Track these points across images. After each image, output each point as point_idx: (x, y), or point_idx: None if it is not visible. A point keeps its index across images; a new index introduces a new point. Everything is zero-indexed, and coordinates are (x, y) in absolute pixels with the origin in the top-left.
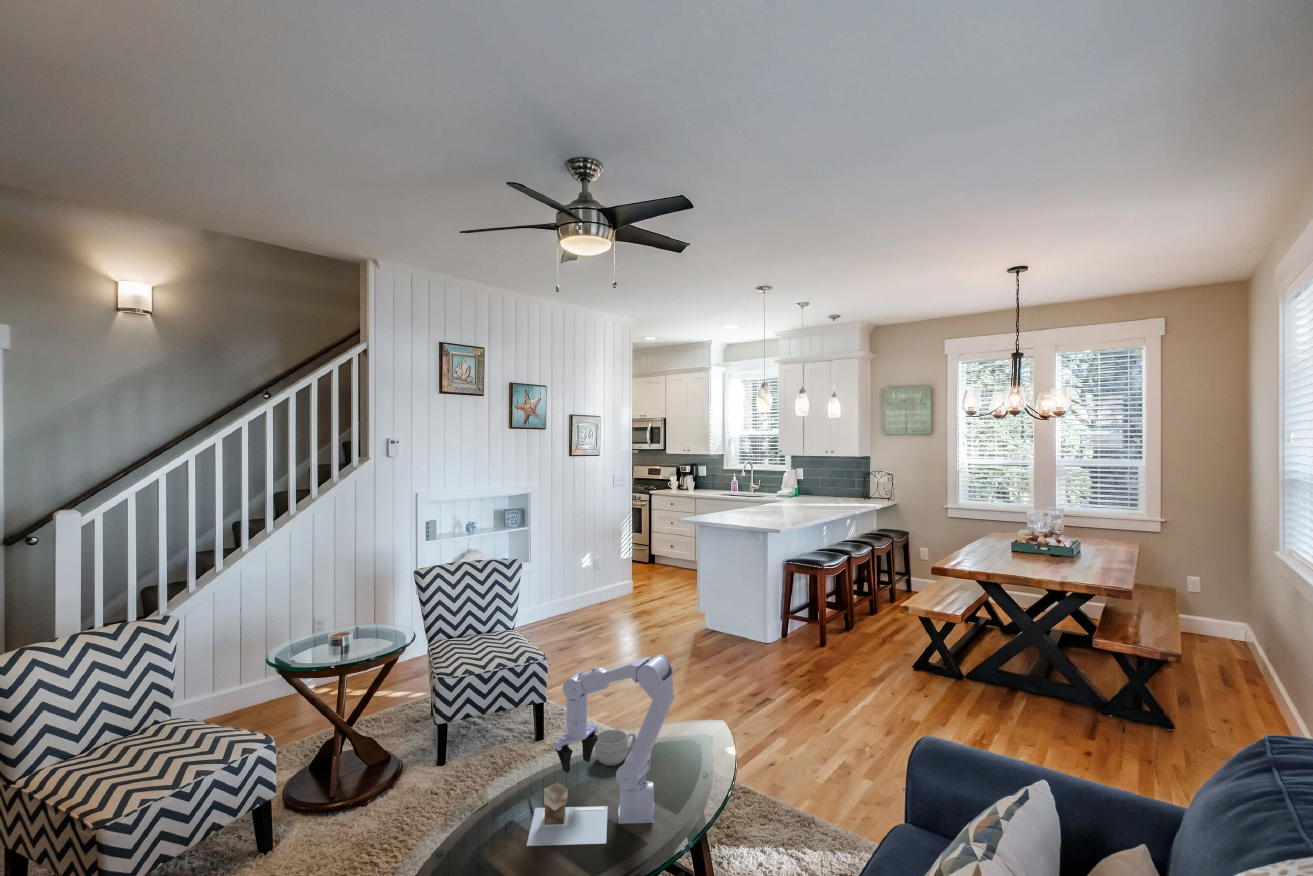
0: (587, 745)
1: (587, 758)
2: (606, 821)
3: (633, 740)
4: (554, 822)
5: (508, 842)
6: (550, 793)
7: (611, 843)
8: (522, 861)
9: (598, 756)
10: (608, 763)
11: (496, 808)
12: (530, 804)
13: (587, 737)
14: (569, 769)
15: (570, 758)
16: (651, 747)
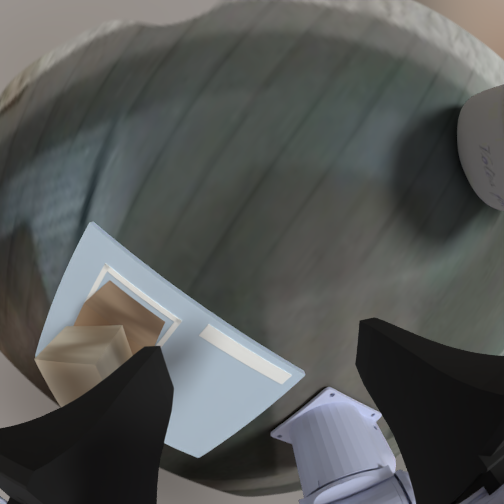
0: (419, 439)
1: (366, 374)
2: (249, 421)
3: None
4: None
5: (9, 304)
6: (54, 395)
7: (213, 454)
8: (30, 374)
9: (467, 137)
10: (467, 178)
11: (23, 132)
12: (97, 173)
13: (454, 496)
14: (168, 407)
15: (155, 486)
16: None
